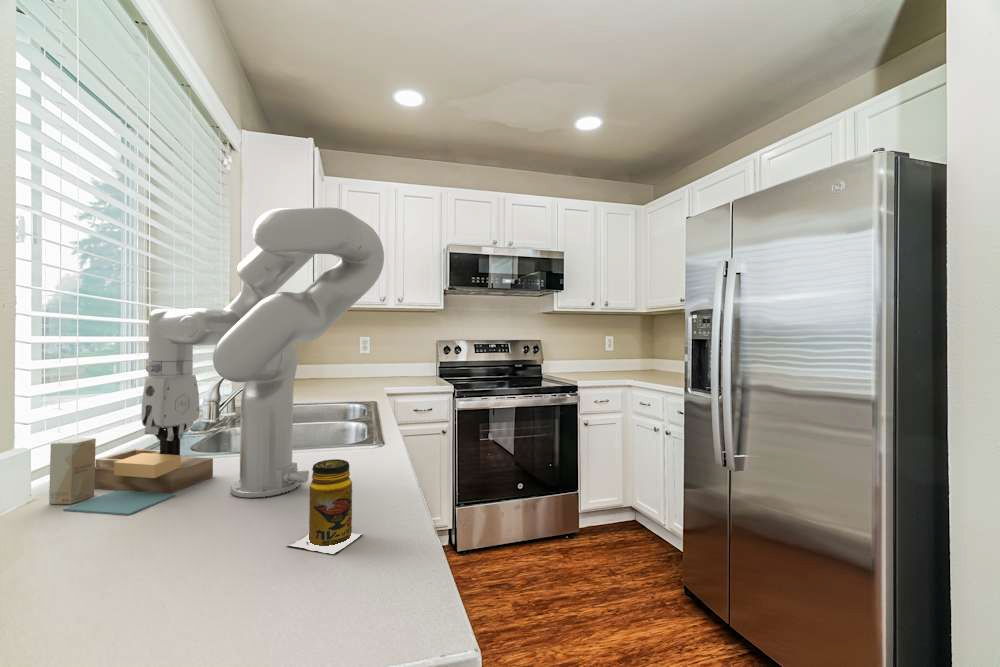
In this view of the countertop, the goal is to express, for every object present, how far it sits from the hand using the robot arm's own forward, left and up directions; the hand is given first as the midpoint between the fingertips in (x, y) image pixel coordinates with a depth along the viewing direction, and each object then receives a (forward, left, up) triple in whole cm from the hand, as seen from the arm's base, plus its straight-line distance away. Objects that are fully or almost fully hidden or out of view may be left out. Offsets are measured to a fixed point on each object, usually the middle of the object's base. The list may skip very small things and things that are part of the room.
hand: (169, 458), depth 98 cm
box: (+10, +11, -6) cm, 16 cm away
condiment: (-45, +20, -6) cm, 49 cm away
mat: (0, +11, -5) cm, 12 cm away
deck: (+4, -1, -5) cm, 7 cm away
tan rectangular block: (+1, +4, -1) cm, 5 cm away
